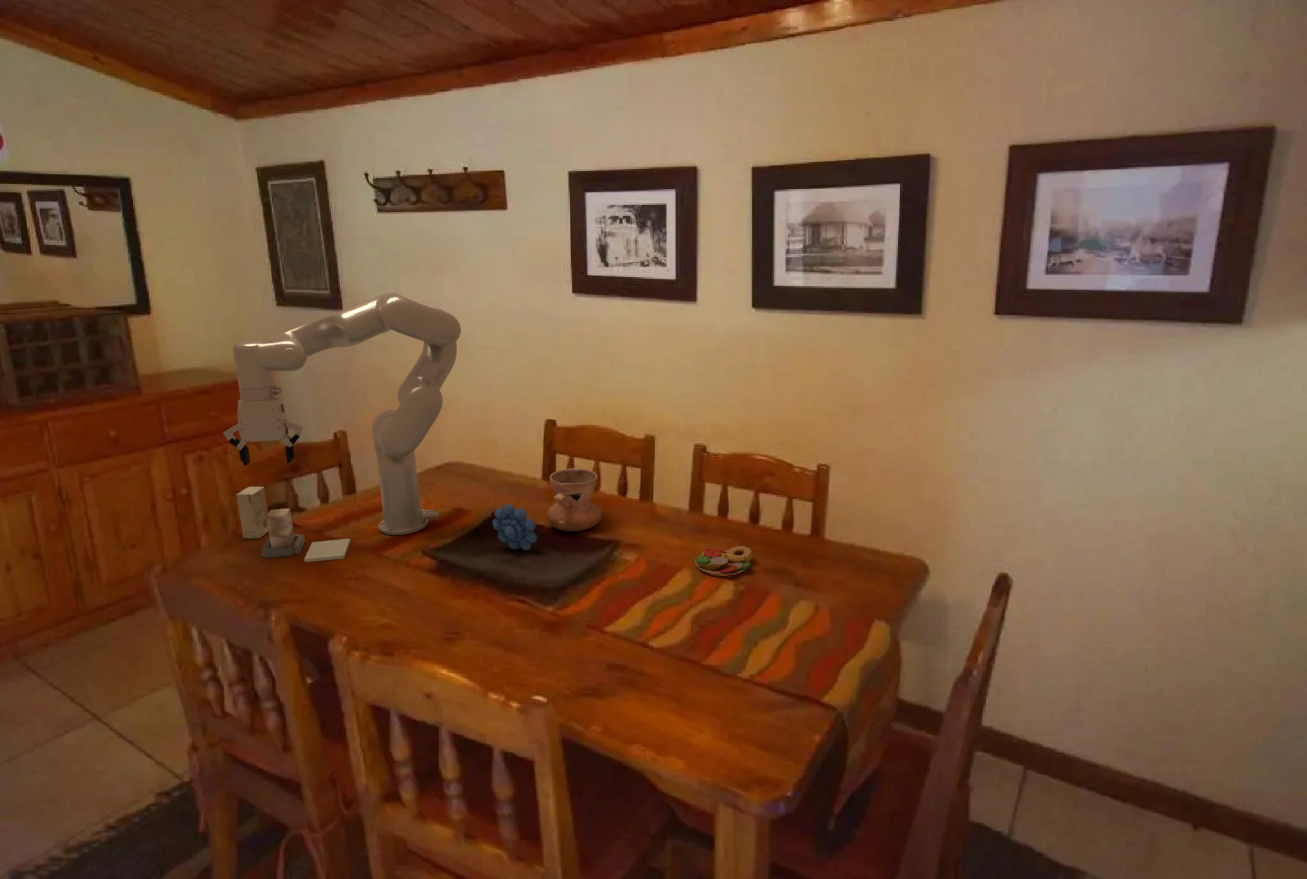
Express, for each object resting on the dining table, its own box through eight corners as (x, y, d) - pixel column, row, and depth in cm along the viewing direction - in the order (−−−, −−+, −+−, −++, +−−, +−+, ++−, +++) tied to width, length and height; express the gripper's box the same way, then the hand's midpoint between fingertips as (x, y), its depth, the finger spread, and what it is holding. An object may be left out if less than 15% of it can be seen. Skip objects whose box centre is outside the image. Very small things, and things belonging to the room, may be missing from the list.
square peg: (295, 544, 194) (289, 508, 191) (291, 552, 190) (285, 514, 187) (276, 546, 193) (270, 509, 190) (272, 554, 189) (266, 516, 186)
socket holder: (305, 540, 197) (304, 533, 196) (298, 554, 189) (297, 547, 188) (270, 544, 195) (268, 536, 194) (261, 558, 187) (260, 550, 186)
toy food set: (755, 558, 185) (756, 545, 184) (747, 583, 173) (747, 569, 172) (701, 552, 189) (701, 540, 188) (689, 576, 177) (689, 563, 176)
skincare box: (259, 538, 198) (251, 494, 194) (243, 539, 198) (235, 494, 194) (272, 528, 204) (264, 485, 201) (255, 528, 204) (248, 485, 201)
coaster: (350, 541, 196) (349, 538, 196) (344, 558, 187) (343, 555, 186) (312, 545, 194) (312, 542, 194) (304, 562, 185) (304, 559, 184)
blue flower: (486, 554, 188) (482, 509, 184) (498, 543, 194) (495, 499, 190) (530, 559, 185) (527, 513, 181) (541, 548, 191) (538, 503, 188)
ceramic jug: (583, 542, 194) (582, 489, 190) (534, 532, 200) (532, 481, 196) (615, 517, 210) (614, 468, 206) (568, 509, 216) (567, 461, 212)
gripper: (301, 388, 185) (310, 455, 190) (222, 391, 182) (234, 460, 187) (294, 395, 178) (304, 465, 183) (212, 399, 175) (224, 470, 180)
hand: (268, 462), depth 185 cm, fingers open, 9 cm apart
